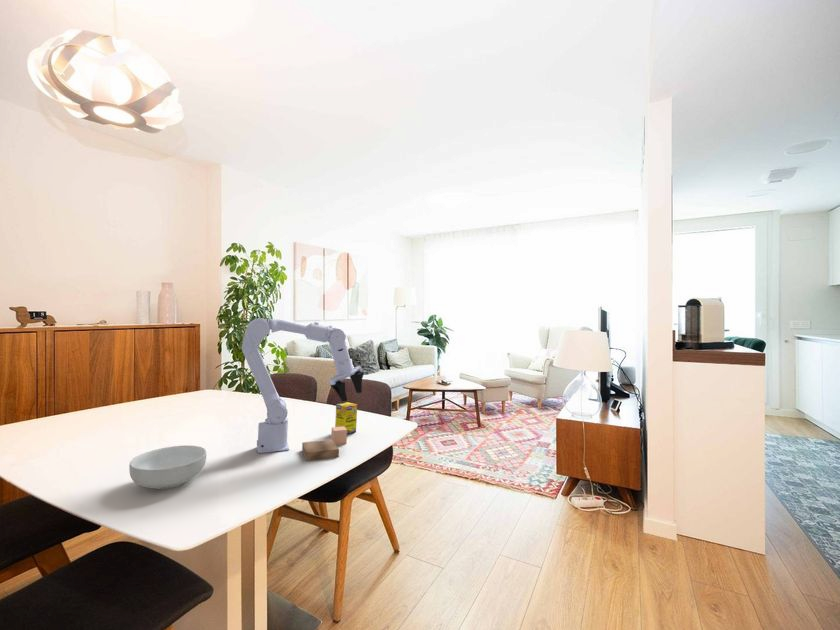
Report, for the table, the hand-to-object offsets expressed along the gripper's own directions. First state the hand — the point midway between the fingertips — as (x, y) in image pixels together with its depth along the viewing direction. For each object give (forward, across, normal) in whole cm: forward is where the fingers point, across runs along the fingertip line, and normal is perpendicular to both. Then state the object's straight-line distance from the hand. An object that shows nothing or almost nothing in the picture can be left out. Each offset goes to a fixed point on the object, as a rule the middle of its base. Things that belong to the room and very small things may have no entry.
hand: (352, 396), depth 136 cm
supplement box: (+16, +2, +12) cm, 19 cm away
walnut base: (+12, -19, 0) cm, 22 cm away
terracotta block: (+14, -8, +4) cm, 17 cm away
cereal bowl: (0, -56, +12) cm, 58 cm away
